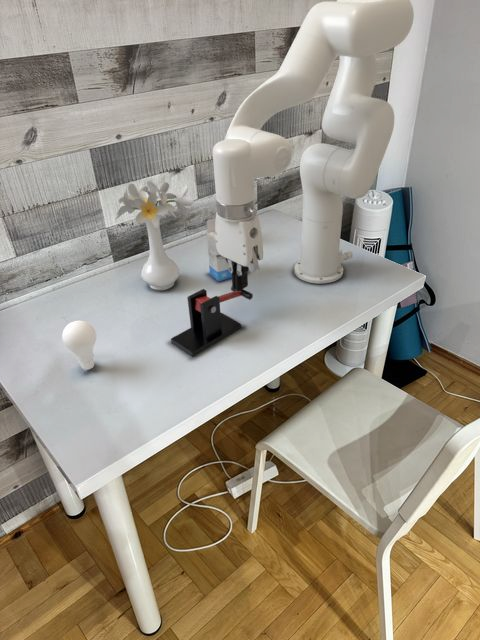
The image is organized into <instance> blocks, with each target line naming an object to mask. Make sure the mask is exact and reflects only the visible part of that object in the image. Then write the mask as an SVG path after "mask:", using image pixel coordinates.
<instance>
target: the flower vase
mask: <svg viewBox="0 0 480 640" xmlns="http://www.w3.org/2000/svg"><path fill="white" fill-rule="evenodd" d="M169 188H170V184H169V182H166V181H165V182H162V183H161V184H160V185H159V186H158V187H157V185H156V184H155V183H154V182H152V181H151V180H146V185H145V186H143V187H141V188H140V189H139V191H138V188H137V186H136V184H133V182H131V183H129V184H128V186H127V187H125V191H124V193H123V196H121V197H119V198H118V202H119V203H120V205H119V208H118V210H117V213H116V217H115V219H114V221H116V220H118V219H119V218H120V217H121V216H122V215H124V214H125V213H128V214H133V213H134V212H135V211H136V210H138V211H139V210H140V211H139V212H138V213H137V215H136V216H135V219H134V220H135V222H136V223H137V224H142V223H145V226H146V227H145V228H146V231H147V236H148V245H149V246H148V247H149V252H148V253H149V254H148V258H147V261H145V262H144V264H143V265H142V267H141V271H140V276H141V278H142V280H143V282H145V283H146V284H147V285H149V287H150V289H152V290H155V291H166V290H169V289H171V288H173V286H174V285H175V282H176V281H177V279H178V278H179V276H180V268H179V265H178V264H177V263H176V262H175V261H174V260H173V259H172V258H170V257H169V256H168V254H167V253H166V251H165V247H164V243H163V238H162V232H161V216H164V215H166V214H169V215H171V216H172V217H174V218H176V219H177V215H176V214H175V213H174V212H179V213H180V212H181V213H182V214H183V215H184V217H185V218H186V219H188V218H189V210H188V208H187V207H191V206H193V205H194V199H193V198H191V197H190V196H187V194H188V192H189V185H188V184H187V183H186V184H184V186H183V187H182V189H181V190H180V188H177V190H176V194H175V193H171V192H168V191H169ZM149 190H150V191H149ZM171 203H175V205H176V207H174V206H173V205H172V204H171Z"/></svg>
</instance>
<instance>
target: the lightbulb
mask: <svg viewBox="0 0 480 640" xmlns="http://www.w3.org/2000/svg"><path fill="white" fill-rule="evenodd" d="M61 338H62V342H63V345H64V346H65V347H66V349H68V350H69V351H70V352H71V353H73V354H74V356H75V358H76V360H77V361H78V362H79V365H80V367H81V369H83V370H85V371H87V370H91V369H93V368H94V366H95V361H94V357H95V356H94V355H95V354H94V347H95V345H96V341H97V333H96V330H95V328H94V326H92V324H90V323H89V322H87V321H85V320H74V321H71V322H69V323H67V325H66V326H65V327H64V329H63V330H62V335H61Z"/></svg>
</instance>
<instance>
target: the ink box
mask: <svg viewBox="0 0 480 640" xmlns="http://www.w3.org/2000/svg"><path fill="white" fill-rule="evenodd" d="M215 222H216V218H215V219H213V218H211V219H208V220H206V241H207V242H206V245H207V255H208V271H209V275H210V276H211V277H212V278H213V279H215V280H216V281H217V282H222V281H225V280H229V279H232V272H230V270H229V266H228V263H227V261H226V260H225V259H224V258H222V257H221V256H220V254H219V253H218V252H217V248H216V238H215Z"/></svg>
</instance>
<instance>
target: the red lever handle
mask: <svg viewBox="0 0 480 640" xmlns="http://www.w3.org/2000/svg"><path fill="white" fill-rule="evenodd" d="M230 290H231V292H227V293H224V294H222V295H219V296H218V295H217V296H218V297H219V299H220V304H221V303H223V302H227V301H229V300H232V299H235V298H239V297H243V298H244V299H247V300H249V301H251V300H252V299H253V296H254V294H253V293H251V292H250V291H248V290H245V288H244V289H242V290H240V291H237V290H236V289H233V287H232V286H230ZM211 298H212V297H208V295H207V296H204V297H201V298H197V299H196V304H195V309H196V310H197V311H199V312H201V309H200V304H201V303H203V302H205V301H207V300H209V299H211Z"/></svg>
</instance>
